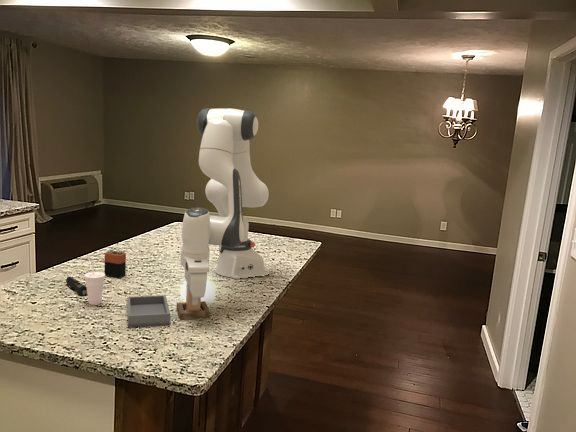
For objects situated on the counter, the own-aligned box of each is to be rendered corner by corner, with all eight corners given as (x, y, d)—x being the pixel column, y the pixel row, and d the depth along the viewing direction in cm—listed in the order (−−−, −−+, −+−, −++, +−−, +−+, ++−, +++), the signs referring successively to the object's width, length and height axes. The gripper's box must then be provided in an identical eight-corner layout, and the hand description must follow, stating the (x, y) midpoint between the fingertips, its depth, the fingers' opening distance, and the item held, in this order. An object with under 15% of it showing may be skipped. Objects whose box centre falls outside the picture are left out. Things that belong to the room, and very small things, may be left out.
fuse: (198, 310, 159) (199, 281, 157) (199, 315, 155) (201, 285, 154) (185, 311, 158) (186, 281, 156) (187, 315, 154) (188, 285, 152)
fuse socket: (205, 306, 163) (205, 301, 162) (209, 318, 154) (210, 312, 153) (176, 308, 159) (176, 302, 159) (179, 319, 151) (179, 313, 150)
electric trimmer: (74, 283, 176) (74, 275, 176) (91, 295, 165) (91, 286, 165) (63, 285, 174) (63, 276, 173) (80, 297, 163) (80, 288, 162)
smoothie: (87, 299, 162) (87, 258, 159) (107, 299, 162) (107, 259, 160) (81, 306, 155) (81, 264, 153) (102, 307, 156) (102, 265, 153)
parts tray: (165, 305, 161) (165, 295, 161) (169, 324, 147) (170, 313, 146) (127, 307, 157) (127, 296, 157) (127, 327, 143) (128, 316, 142)
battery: (119, 278, 184) (119, 253, 182) (103, 275, 185) (104, 250, 184) (126, 275, 188) (126, 250, 186) (110, 272, 190) (110, 248, 188)
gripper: (181, 250, 162) (179, 290, 164) (189, 269, 143) (187, 313, 146) (200, 250, 164) (198, 289, 167) (210, 268, 145) (208, 312, 148)
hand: (193, 301), depth 156 cm, fingers closed on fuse, 4 cm apart
